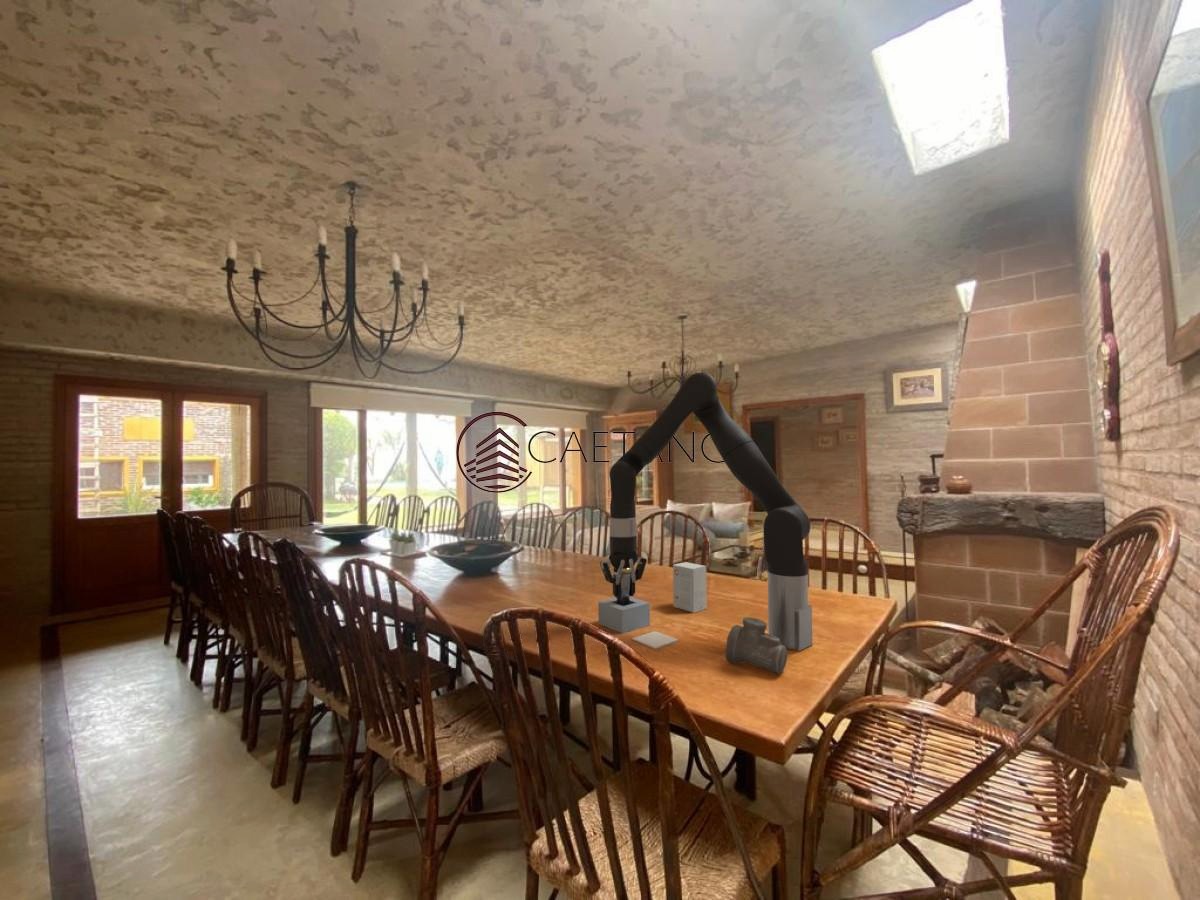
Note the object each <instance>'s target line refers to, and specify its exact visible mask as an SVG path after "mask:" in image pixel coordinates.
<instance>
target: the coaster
mask: <svg viewBox="0 0 1200 900" xmlns="http://www.w3.org/2000/svg"><path fill="white" fill-rule="evenodd" d="M632 641H635V642H637V643H639V644H641V645H644V646H646V647H649V648H650V649H653V650H659V649H660V648H664V647H667V646H670V645H672V644H675V643H677V642H679V639H677V638H675V637H673V636H669V635H666V634H664V633H661V632H659V631H656V630H655V631H651V632H648V633H645V634H643V635H639V636H635V637H633V638H632Z"/></svg>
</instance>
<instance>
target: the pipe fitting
mask: <svg viewBox="0 0 1200 900" xmlns="http://www.w3.org/2000/svg"><path fill="white" fill-rule="evenodd" d="M767 626H768V624H767V622H765V621H764V620H762V619H758V618H756V617H750V616H747V617H743V618H742V626H741V625H739V624H735V625H733V626H732V627H731V629H730V631H729V633H728V635H727V640H726V644H725V651H724V652H725V653H724V654H725V659H726V661H727V662H730V663H732V664H734V665H736V664H740V663H743V662H744V663H748V664H750V665H752V666H756V667H758V668H760V669H764V670H766V671H769V672H772V673H774V674H777V675H779V674H781V673H782V672H783V671H785V670H784V669H785V667H786V664H787V661H788V649H787V648H785V646H784V645H781V644H780V640H779V638H778V637H776V636H774V635H770V634H769V633H767V632H766V630H767Z"/></svg>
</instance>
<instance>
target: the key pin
mask: <svg viewBox="0 0 1200 900" xmlns="http://www.w3.org/2000/svg"><path fill="white" fill-rule="evenodd" d="M631 569H632V568H629V567H627V568H623V569H622V576H621V577H620V583H619V584H620V598H617V601H616V604H618V605H621V606H626V605H629V602H630V597H631V596H630V580H631Z"/></svg>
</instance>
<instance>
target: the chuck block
mask: <svg viewBox="0 0 1200 900" xmlns="http://www.w3.org/2000/svg"><path fill="white" fill-rule="evenodd" d="M616 601H617V598H616V597H613V598H608V599H604V600H601V601H598V609H597V610H598V624H599V625H601V626H603V627H605V628H608V629H611V630H613V631H615V632H618V633H620V634H626V633H628V632H632V631H635V630H638V629H642V628H644V627H647V626H650V625H651V613H650V612H651V609H650V608H651V604H650V602H648V601H645V600H641V599H638V598H635V597H634V596H630V602H629V605H626V606H621V605H618V604H616Z"/></svg>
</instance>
